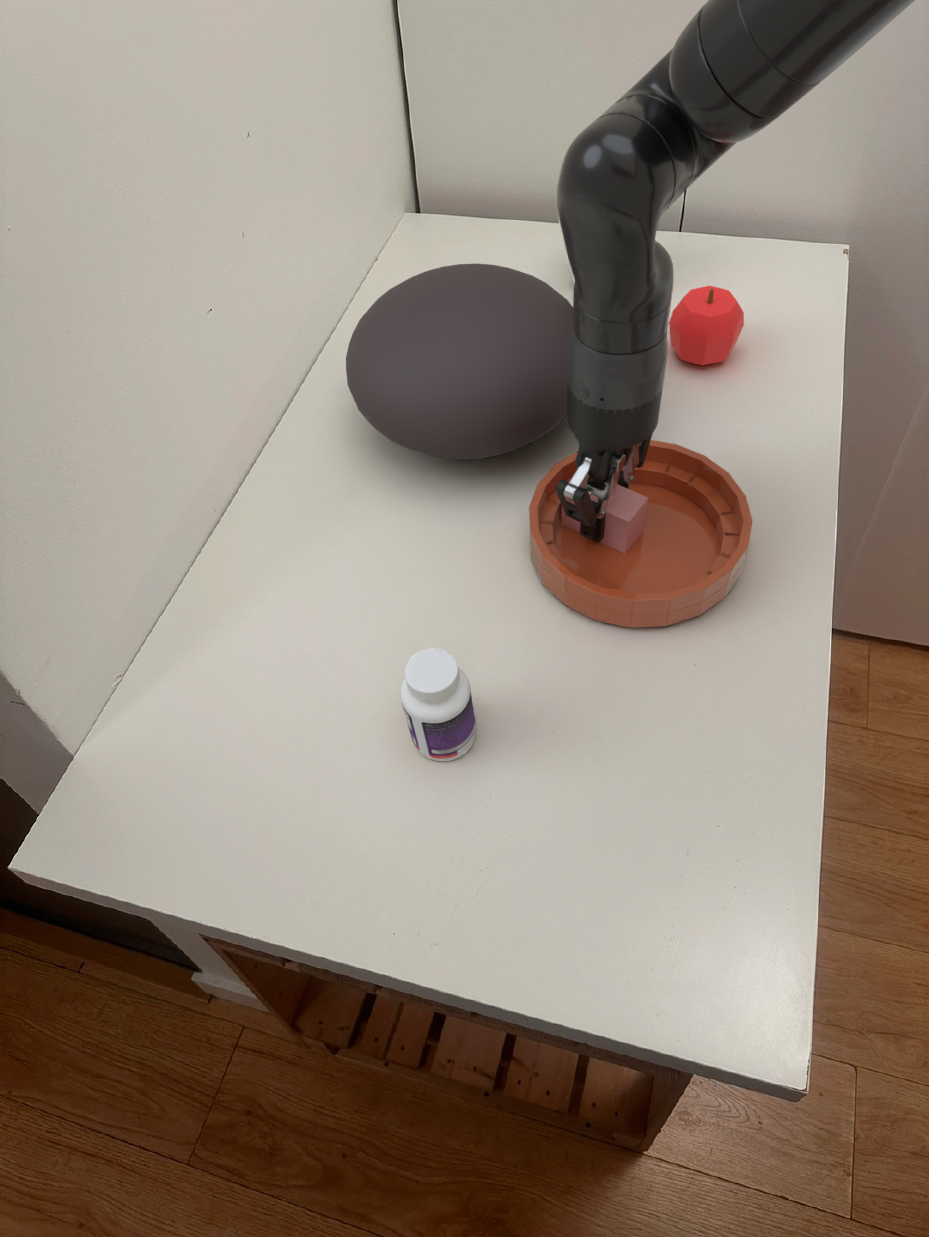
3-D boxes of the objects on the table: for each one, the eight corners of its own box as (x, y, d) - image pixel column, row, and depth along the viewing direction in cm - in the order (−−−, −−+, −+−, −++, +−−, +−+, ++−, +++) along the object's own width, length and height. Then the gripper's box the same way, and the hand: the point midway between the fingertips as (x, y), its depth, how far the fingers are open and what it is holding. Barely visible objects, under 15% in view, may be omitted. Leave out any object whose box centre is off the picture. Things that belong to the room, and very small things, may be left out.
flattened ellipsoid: (408, 333, 104) (389, 213, 92) (612, 363, 98) (621, 238, 86) (322, 473, 91) (287, 354, 79) (552, 518, 84) (552, 397, 72)
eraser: (643, 530, 82) (648, 497, 78) (625, 554, 80) (629, 521, 77) (580, 502, 84) (582, 468, 81) (561, 524, 83) (561, 491, 79)
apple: (738, 377, 94) (752, 313, 88) (664, 374, 96) (672, 311, 89) (736, 332, 99) (749, 268, 93) (665, 330, 100) (673, 267, 94)
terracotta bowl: (777, 522, 82) (788, 488, 78) (678, 667, 73) (685, 636, 70) (598, 447, 90) (600, 414, 86) (490, 571, 81) (487, 539, 77)
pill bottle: (488, 721, 72) (481, 656, 64) (455, 774, 69) (443, 713, 61) (433, 695, 73) (419, 629, 66) (399, 745, 71) (380, 682, 63)
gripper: (610, 445, 63) (598, 589, 77) (701, 342, 70) (674, 493, 83) (525, 410, 66) (528, 555, 80) (619, 314, 73) (607, 464, 86)
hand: (603, 522), depth 82 cm, fingers closed on eraser, 3 cm apart
